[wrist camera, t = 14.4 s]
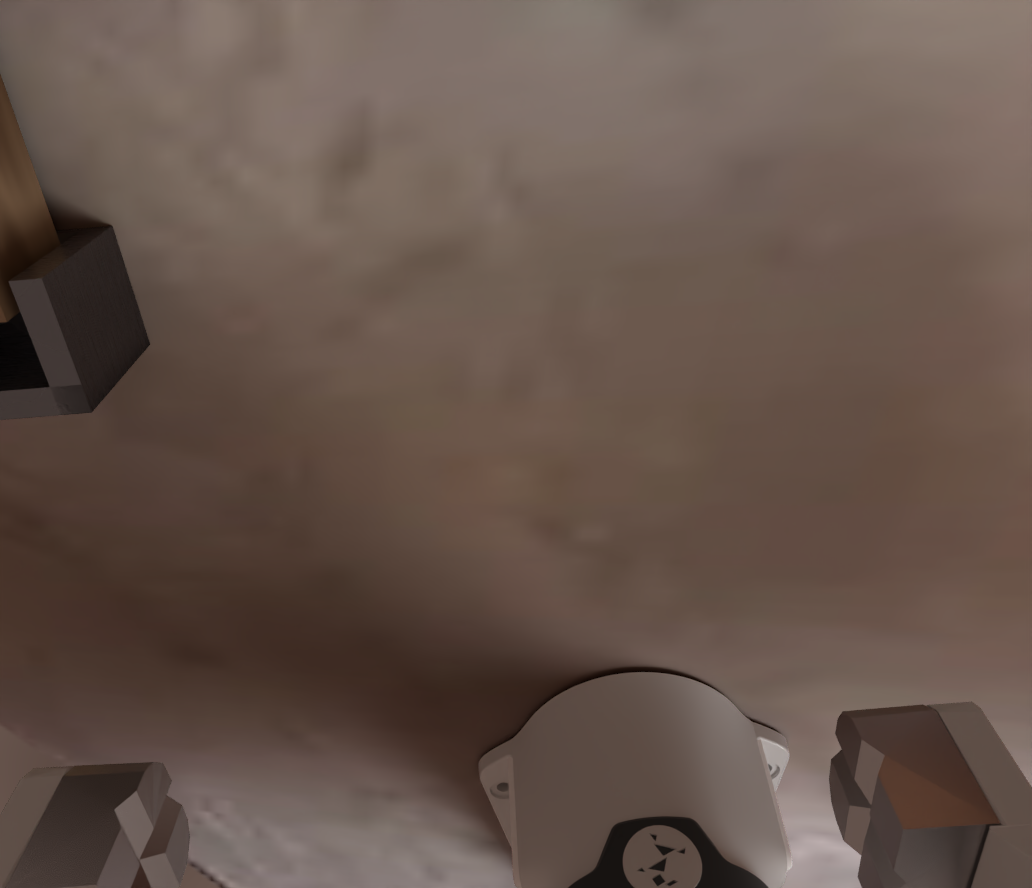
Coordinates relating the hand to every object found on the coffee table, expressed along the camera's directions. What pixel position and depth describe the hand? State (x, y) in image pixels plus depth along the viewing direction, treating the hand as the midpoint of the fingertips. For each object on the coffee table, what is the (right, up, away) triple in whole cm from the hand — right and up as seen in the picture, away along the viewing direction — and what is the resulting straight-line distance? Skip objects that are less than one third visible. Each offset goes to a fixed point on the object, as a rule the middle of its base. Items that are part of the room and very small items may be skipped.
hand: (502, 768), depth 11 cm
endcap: (-20, +10, +27) cm, 35 cm away
